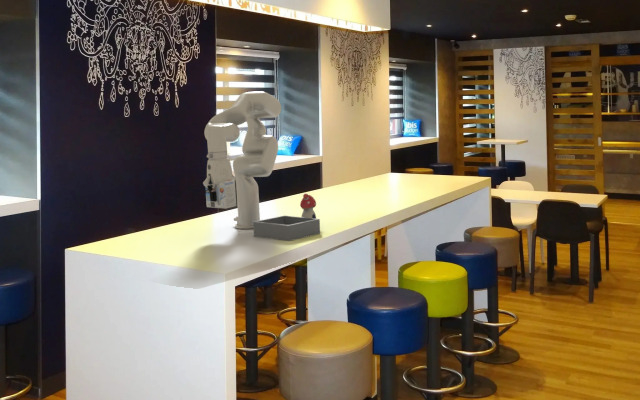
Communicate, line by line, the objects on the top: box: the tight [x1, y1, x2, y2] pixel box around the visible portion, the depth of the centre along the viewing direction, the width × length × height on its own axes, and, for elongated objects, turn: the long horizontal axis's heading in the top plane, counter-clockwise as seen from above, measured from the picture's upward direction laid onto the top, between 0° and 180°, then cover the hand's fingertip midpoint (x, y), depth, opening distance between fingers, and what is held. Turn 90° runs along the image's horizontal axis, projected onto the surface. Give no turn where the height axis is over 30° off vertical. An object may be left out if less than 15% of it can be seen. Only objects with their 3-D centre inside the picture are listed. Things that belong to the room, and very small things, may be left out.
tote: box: [253, 214, 321, 242], centre depth 284 cm, size 20×18×6 cm
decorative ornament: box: [299, 193, 317, 219], centre depth 299 cm, size 9×7×15 cm
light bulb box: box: [204, 180, 237, 210], centre depth 282 cm, size 11×7×11 cm, turn 58°
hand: (221, 199), depth 282 cm, fingers closed on light bulb box, 7 cm apart
